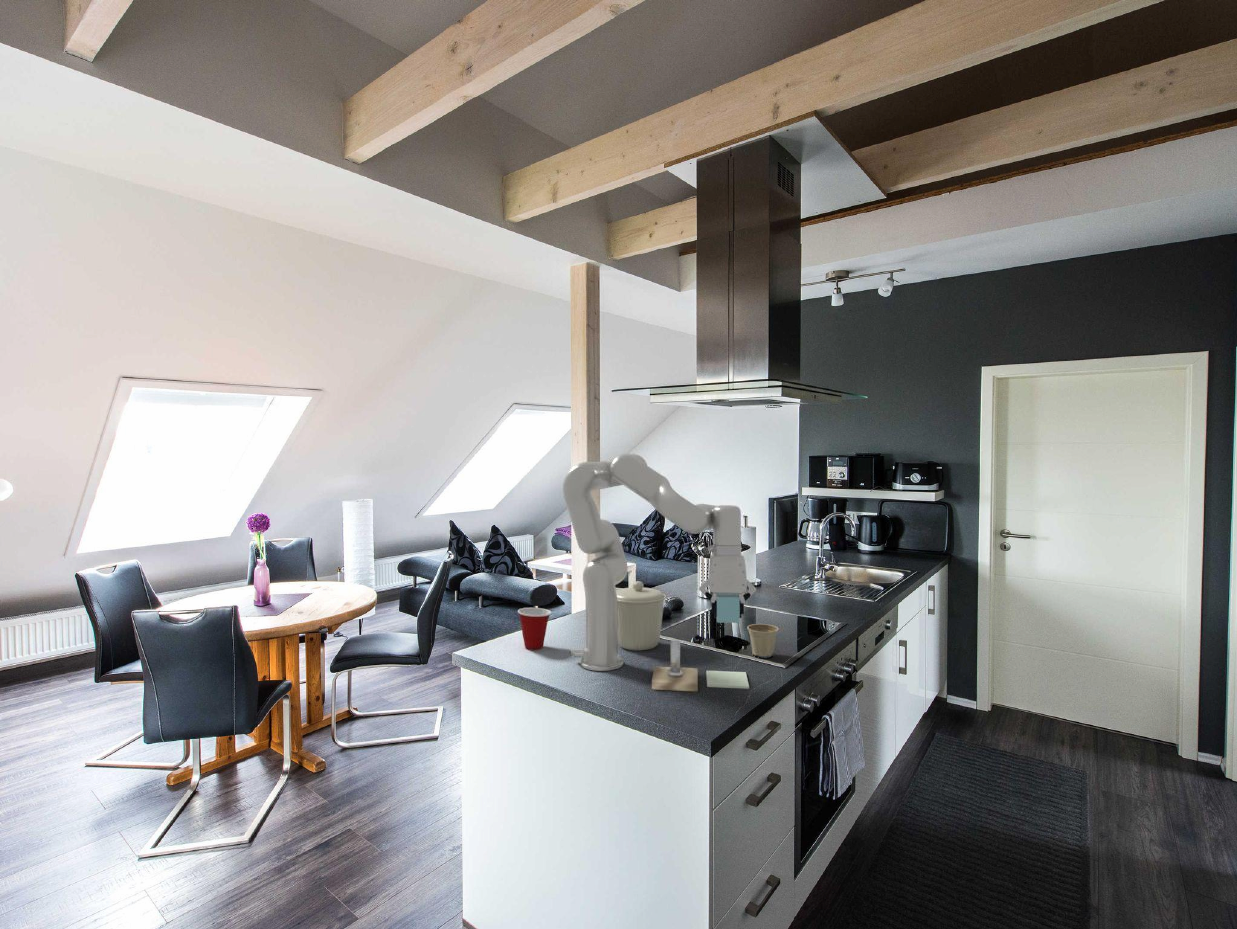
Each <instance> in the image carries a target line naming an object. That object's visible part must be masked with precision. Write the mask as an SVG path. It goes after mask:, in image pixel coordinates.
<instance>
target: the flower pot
mask: <svg viewBox="0 0 1237 929" xmlns="http://www.w3.org/2000/svg"><path fill="white" fill-rule="evenodd" d="M746 628H747V630H748V633H749V636H750V645H751V652H752V655H753V654H754V655H759V656H767V655H772V654H773V653H774V652H775V644H776V638H777V637H776V636H778V635H777V634H778V631H779V627H777V626H776V625H772V624H767V623H766V624H765V623H756V624H755V623H754V624H749V625H748V626H747V627H746ZM773 655H774V654H773Z"/></svg>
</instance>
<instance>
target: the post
mask: <svg viewBox="0 0 1237 929" xmlns="http://www.w3.org/2000/svg"><path fill="white" fill-rule="evenodd" d="M670 667H671V669H669V670H668V676H670V677H681V676H683V671H682V670H680V668H681V641H680V640H677V639H675V640H671V641H670Z"/></svg>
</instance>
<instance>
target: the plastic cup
mask: <svg viewBox="0 0 1237 929" xmlns="http://www.w3.org/2000/svg"><path fill="white" fill-rule="evenodd" d="M517 614H518V616H519V622H520V625H521V632H522V639H523V644H524V648H525V649H526V650H529V649H537V650H541V649H543V647H544V642H545V638H546V633H547V626H548V622H549V619H550V617H551V615H552V611H551V610H549V609H546V608H541V607H523V608H519V609H518V610H517Z"/></svg>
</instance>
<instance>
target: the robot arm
mask: <svg viewBox="0 0 1237 929" xmlns="http://www.w3.org/2000/svg"><path fill="white" fill-rule="evenodd" d="M620 486H624V487H625V488H627V489H628V490H630V491H631V492H633V493H635V494H636V495H637V496H639V497H640V498H642V499H644V501H646V502H648V503H649V504H650V505H651V506H652V507H653V508H654V509H655V510H656V511H657V512H658V513H659V514H660V515H661V516H663V517H664V518H665V519H666V520H668V521H669V522H670V523H673V525H675V526H677V527H678V528H680V529H681V530H683V531H685V532H686V533H690V534H693V535H696V534H700V533H702V532H705V531H708V530H712V537H713V538H712V541H713V544H712V545H709V546H707V552H711V553H713V554H711V555H710V559H709V566H708V567H709V568H708V578H707V579H706V580H705V581H704V582H702V584H701V585H700V586H699V587H698V588H699V589H698V590H699V592H701V593H702V594H703V595H704V596H705V597H706V598H707V599H708V600H709V601H710V603H711V614H713V615H714V618H716V617H717V602H716V598H717V595H718V593H720V594H738V596H739V599H740V619H742V615H745V603H746V601H748V599H750V597H751V596H752V595H753V594H755V593H756V592H757V588H756V587H755V585H753V584H752V582H750V581H749V579H747V578H748V577H747V567H746V566H747V565H746V560H745V559H746V558H745V556H744V555H743V554H742V513H741V511H742V510H741V509H740V507H739V506H737V505H732V504H731V505H730V504H729V505H728V504H727V505H726V504H725V505H724V504H722V505H713V504H706V503H699V504H694V503H693V502H691V501H689V500H688V499H686V498H684V497H683V496H682V495H680V494H679V493H678V492H676V490H674V489H673V487H672V486H671V483H670V481H669V480H668V479H667V477H666V476H665V475H663V474H661V473H660V472H658V471H656V470H655V469H653V468H652V467H650V466H648V463H647V461H646V460H645V459H644V457H642V456H641V455H639V454H635V453H622V454H619V455H618V456H616V457H615V458H612V459H608V460H607V459H606V460H602V461H583V462H580V463H578V464H575V465H574V466H573V467H572V468H571V469H570V470H568V472H567V473H566V475H565V477H564V480H563V484H562V494H563V498H564V502H565V505H566V507H567V510H568V514H569V517H570V522H571V525H572V529H573V533H574V536H575V539H576V543H577V546H578V548H579V549H580V551H582V552H583V553H585V554H586V555H594V556H595V558H593V559H591V560H590V561H589V562H588V563H587V564H586V565H585V567H584V570H583V574H582V583H583V589H584V597H585V598H584V599H585V601H584V602H585V647H584V648H583V647H582V648H581V649H579V648H571V653H570V654H571V656H573V657H574V658H581V659H580V666H581V667H582V668H584V669H585V670H589V671H597V672H607V671H614V670H617V669H619V668H622V666H623V665H624V659H623V658H622V657H620V656H619V643H618V601H617V594H616V591H617V590H616V585H618V584H619V583H621V582H622V581H623V580H624V579H625V578H626V577H627V574H628V572H629V571H628V562H627V558H626V554H625V552H624V548H623V544H622V541H621V538H620V534H619V531H618V530H617V528H616V527H615V525H614V524H613V522H611V521H609V520H606V519H602V518H601V517H600V513H599V509H598V507H597V506H598V505H597V504H596V502H595V500H594V498H593V496H592V492H591V491H596V490H606V489H609V488H613V487H620ZM707 587H708V589H709V591H708V590H707ZM747 589H748V591H747ZM711 593H712V594H711ZM716 619H717V618H716Z"/></svg>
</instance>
